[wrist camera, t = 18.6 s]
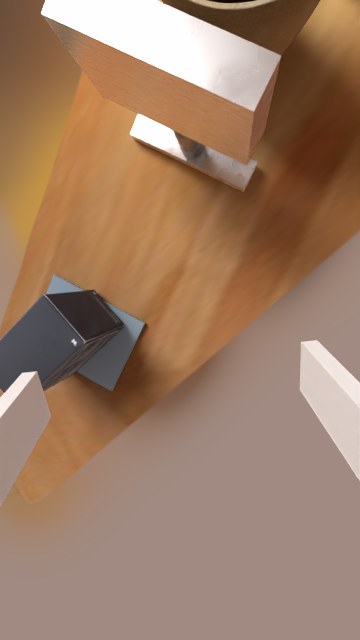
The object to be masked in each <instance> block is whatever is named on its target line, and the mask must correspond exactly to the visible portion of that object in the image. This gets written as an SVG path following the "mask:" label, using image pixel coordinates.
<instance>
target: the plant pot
mask: <svg viewBox="0 0 360 640" xmlns="http://www.w3.org/2000/svg"><path fill="white" fill-rule="evenodd" d="M162 2H163V3H164V4H166V5H168V6H170V7H173V8H175V9H177V10H179V11H182V12H184V13H186V14H188V15H191V16H193V17H195V18H197V19H200V20H202V21H204V22H206V23H209V24H211V25H213V26H216V27H218V28H220V29H222V30H225V31H227V32H229V33H231V34H234V35H236V36H238V37H240V38H243V39H245V40H247V41H249V42H252V43H254V44H256V45H258V46H261V47H263V48H265V49H268V50H270V51H272V52H274V53H277V54H279V55H282V54H283V53H284V52H285V50H286V49H287V48H288V47H289V45H290V44H291V43H292V41H293V40H294V39H295V37H296V36H297V35H298V33H299V32H300V31H301V29H302V28H303V26H304V25H305V23H306V22H307V20H308V19H309V17H310V16H311V14H312V13H313V11H314V10H315V8H316V6H317V5H318V3H319V2H320V0H162Z"/></svg>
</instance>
